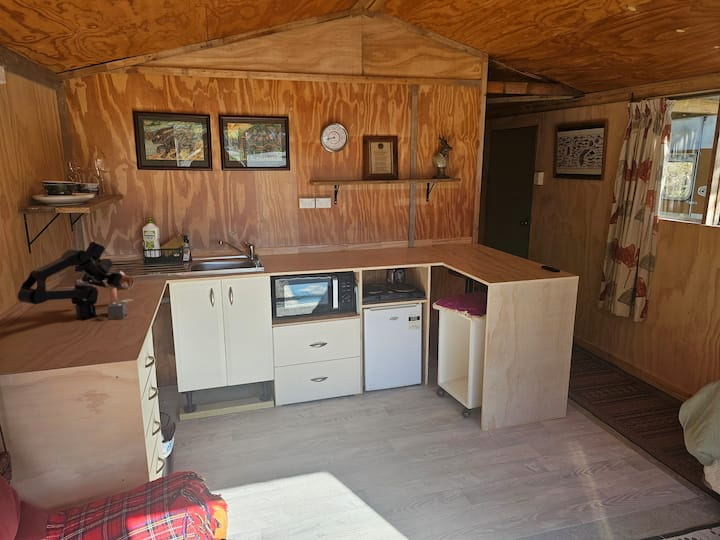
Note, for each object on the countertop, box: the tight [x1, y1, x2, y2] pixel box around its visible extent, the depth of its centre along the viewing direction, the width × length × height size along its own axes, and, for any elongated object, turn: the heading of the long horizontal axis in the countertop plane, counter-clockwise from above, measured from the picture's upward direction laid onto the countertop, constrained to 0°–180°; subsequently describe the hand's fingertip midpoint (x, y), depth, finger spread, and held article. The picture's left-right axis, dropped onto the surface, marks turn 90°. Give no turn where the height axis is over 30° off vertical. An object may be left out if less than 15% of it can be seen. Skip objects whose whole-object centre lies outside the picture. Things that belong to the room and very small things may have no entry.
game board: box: [119, 298, 133, 303], centre depth 238 cm, size 13×6×1 cm, turn 161°
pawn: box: [107, 284, 119, 304], centre depth 233 cm, size 4×4×11 cm
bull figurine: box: [118, 271, 135, 290], centre depth 270 cm, size 4×13×8 cm, turn 51°
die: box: [106, 301, 128, 321], centre depth 219 cm, size 6×6×6 cm
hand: (113, 287), depth 233 cm, fingers open, 9 cm apart
